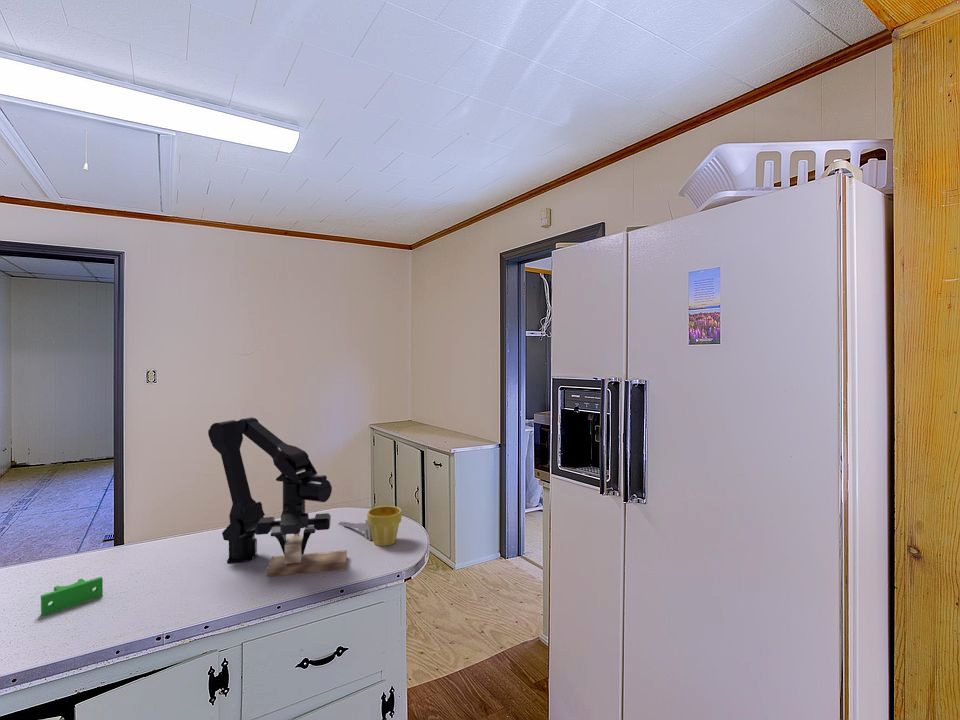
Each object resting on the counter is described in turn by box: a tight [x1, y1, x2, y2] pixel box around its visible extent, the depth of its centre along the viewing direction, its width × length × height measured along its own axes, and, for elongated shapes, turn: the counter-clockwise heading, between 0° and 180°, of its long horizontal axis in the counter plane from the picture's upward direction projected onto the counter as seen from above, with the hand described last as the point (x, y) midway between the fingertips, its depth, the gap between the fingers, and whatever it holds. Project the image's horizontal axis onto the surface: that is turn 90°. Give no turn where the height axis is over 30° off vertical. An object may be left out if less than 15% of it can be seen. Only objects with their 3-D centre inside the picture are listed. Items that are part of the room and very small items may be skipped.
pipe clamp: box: [40, 576, 104, 617], centre depth 116 cm, size 11×4×5 cm, turn 145°
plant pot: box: [366, 505, 403, 547], centre depth 153 cm, size 10×10×10 cm
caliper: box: [338, 519, 373, 541], centre depth 162 cm, size 20×1×6 cm, turn 44°
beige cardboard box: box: [285, 533, 303, 564], centre depth 136 cm, size 4×9×5 cm, turn 13°
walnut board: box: [266, 549, 348, 578], centre depth 136 cm, size 20×8×2 cm, turn 103°
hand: (294, 554), depth 135 cm, fingers closed on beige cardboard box, 4 cm apart
